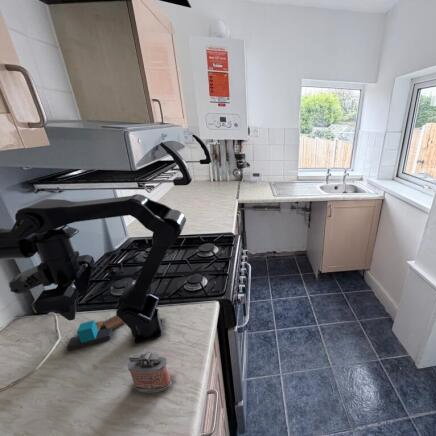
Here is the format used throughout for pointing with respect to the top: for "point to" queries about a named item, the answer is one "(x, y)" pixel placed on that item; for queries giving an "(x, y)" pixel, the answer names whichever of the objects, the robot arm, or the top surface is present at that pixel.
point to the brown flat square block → (113, 322)
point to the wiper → (89, 335)
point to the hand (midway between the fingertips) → (78, 306)
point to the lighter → (149, 372)
